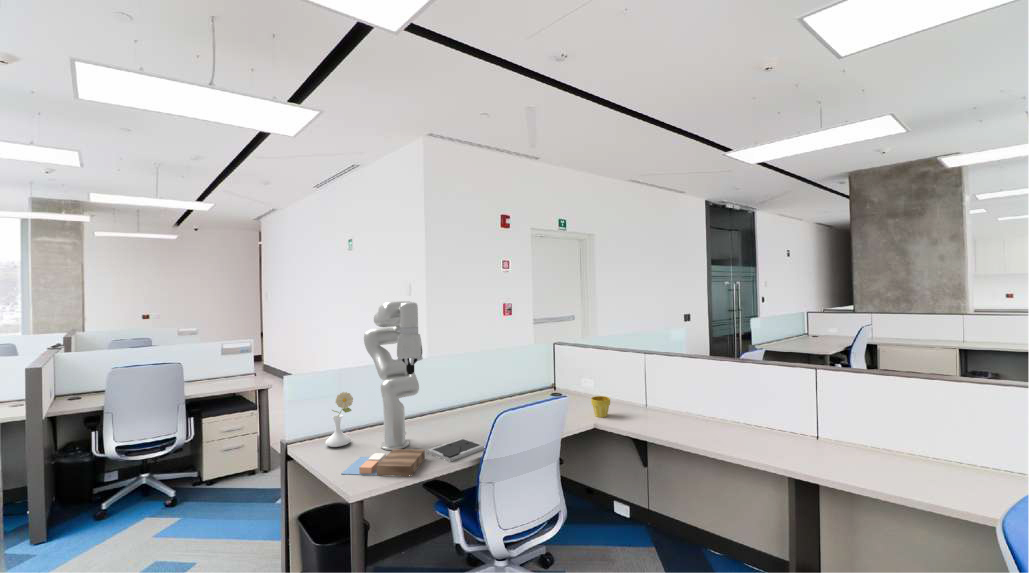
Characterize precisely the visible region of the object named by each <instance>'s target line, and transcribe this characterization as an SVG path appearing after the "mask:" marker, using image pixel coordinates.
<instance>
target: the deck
mask: <svg viewBox="0 0 1029 573" xmlns="http://www.w3.org/2000/svg"><path fill="white" fill-rule="evenodd" d="M425 459H426V454H425V449H414V448H413V449H408V448H407V449H404V448H402V449H393V450H390V452H388V454H387V455H386V457H385V458H384V459H383V460H382V461H381V462H380V463H379V464H378V465H377V475H376V476H382V475H401V476H400V477H412V476H413V475H414V473H415V472H416V471H417V470H418V468H419V467H420V466H419V465H422V463H423V462H424V461H425ZM423 460H424V461H423ZM418 466H419V467H418ZM415 470H416V471H415ZM414 471H415V472H414ZM412 474H413V475H412ZM409 475H410V476H409ZM411 475H412V476H411Z"/></svg>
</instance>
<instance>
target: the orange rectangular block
mask: <svg viewBox="0 0 1029 573" xmlns="http://www.w3.org/2000/svg"><path fill="white" fill-rule="evenodd" d="M377 465H378V461H366V462H365V463H364V464H362V465H361V466H360V467H359V472H360V474H372V473H373V472H374V471H375V470H376V469H377Z"/></svg>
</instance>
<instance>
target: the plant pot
mask: <svg viewBox="0 0 1029 573" xmlns="http://www.w3.org/2000/svg"><path fill="white" fill-rule="evenodd" d="M590 403H591V406H592V409H593V413H594V417H596V418H606V417H608V414H609V407H610V406H611V398H610V397H608V396H606V395H605V396H604V395H597V396H596V395H595V396H592V397H591V399H590Z"/></svg>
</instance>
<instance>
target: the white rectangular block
mask: <svg viewBox="0 0 1029 573" xmlns="http://www.w3.org/2000/svg"><path fill="white" fill-rule="evenodd" d="M386 454H387V453H386V452H385V453H384V452H383V453H381V452H374V453H373V454H371V455H370V456H369V457H370V458H369V459H368V461H378V464H379V463H380V462H381V461H382V460H383V459H384V458H385V457H386V456H387V455H386Z"/></svg>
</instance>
